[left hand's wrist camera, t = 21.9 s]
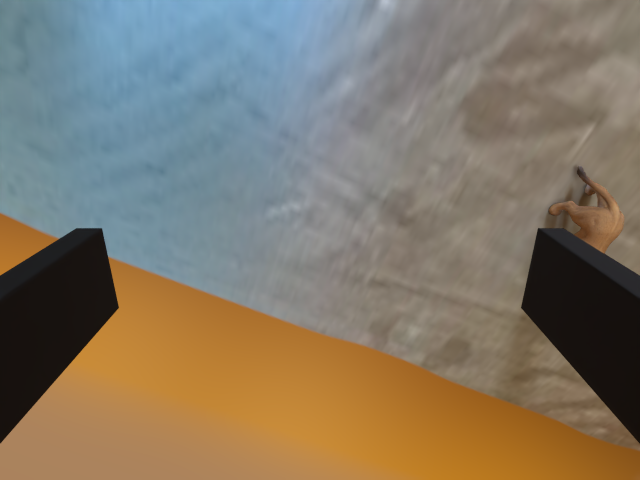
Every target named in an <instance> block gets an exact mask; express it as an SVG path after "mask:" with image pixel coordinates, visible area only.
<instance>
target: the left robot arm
mask: <svg viewBox="0 0 640 480" xmlns="http://www.w3.org/2000/svg"><path fill="white" fill-rule="evenodd" d="M118 308H119V306H118V302H117V297H116V292H115V288H114V283H113V278H112V274H111V269H110V264H109V259H108V255H107V250H106V245H105V241H104V236H103V231H102V228H76V229H75V230H73V231H72V232H70V233H68V234H67V235H65V236H63V237H62V238H60V239H59V240H57V241H55V242H54V243H52V244H51V245H49V246H47V247H46V248H44V249H42V250H41V251H39V252H38V253H36V254H34V255H33V256H31V257H30V258H28V259H26V260H25V261H23V262H22V263H20V264H18V265H17V266H15V267H14V268H12V269H10V270H9V271H7V272H5V273H4V274H2V275H1V276H0V443H1V442H2V441H3V440H4V439H5V438H6V436H7V435H8V434H9V433H10V432H11V431H12V429H13V428H14V427H15V426H16V425H17V424H18V423H19V421H20V420H21V419H22V418H23V417H24V416H25V415H26V413H27V412H28V411H29V410H30V409H31V408H32V406H33V405H34V404H35V403H36V402H37V401H38V400H39V399H40V397H41V396H42V395H43V394H44V393H45V392H46V391H47V389H48V388H49V387H50V386H51V385H52V384H53V383H54V381H55V380H56V379H57V378H58V377H59V376H60V375H61V373H62V372H63V371H64V370H65V369H66V368H67V367H68V365H69V364H70V363H71V362H72V361H73V360H74V359H75V357H76V356H77V355H78V354H79V353H80V352H81V351H82V349H83V348H84V347H85V346H86V345H87V344H88V342H89V341H90V340H91V339H92V338H93V337H94V336H95V334H96V333H97V332H98V331H99V330H100V329H101V328H102V326H103V325H104V324H105V323H106V322H107V321H108V319H109V318H110V317H111V316H112V315H113V314H114V313H115V312H116V310H117V309H118ZM521 308H522V309H523V310H524V312H525V313H526V314H527V315H528V316H529V317H530V318H531V320H532V321H533V322H534V323H535V324H536V325H537V326H538V328H539V329H540V330H541V331H542V332H543V333H544V334H545V336H546V337H547V338H548V339H549V340H550V341H551V342H552V344H553V345H554V346H555V347H556V348H557V349H558V351H559V352H560V353H561V354H562V355H563V356H564V357H565V359H566V360H567V361H568V362H569V363H570V364H571V365H572V367H573V368H574V369H575V370H576V371H577V372H578V373H579V375H580V376H581V377H582V378H583V379H584V380H585V381H586V383H587V384H588V385H589V386H590V387H591V388H592V389H593V391H594V392H595V393H596V394H597V395H598V396H599V397H600V399H601V400H602V401H603V402H604V403H605V404H606V405H607V407H608V408H609V409H610V410H611V411H612V412H613V413H614V415H615V416H616V417H617V418H618V419H619V420H620V421H621V423H622V424H623V425H624V426H625V427H626V428H627V429H628V431H629V432H630V433H631V434H632V435H633V436H634V438H635V439H636V440H637V441H638V442H639V443H640V276H639V275H638V274H636V273H635V272H633V271H631V270H630V269H628V268H627V267H625V266H623V265H622V264H620V263H618V262H617V261H615V260H614V259H612V258H610V257H609V256H607V255H606V254H604V253H602V252H601V251H599V250H598V249H596V248H594V247H593V246H591V245H589V244H588V243H586V242H585V241H583V240H581V239H580V238H578V237H577V236H575V235H573V234H572V233H570V232H568V231H567V230H565V229H564V228H538V231H537V236H536V241H535V245H534V250H533V255H532V259H531V264H530V269H529V274H528V278H527V283H526V288H525V292H524V297H523V302H522V306H521Z"/></svg>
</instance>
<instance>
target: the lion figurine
mask: <svg viewBox="0 0 640 480" xmlns="http://www.w3.org/2000/svg"><path fill="white" fill-rule="evenodd" d="M577 174H578V175H579V177H580V178H581V179H582V180H583V181H584V182H585V183H586V184H588V185H587V186H586V188H585V193H587V194H588V195H592V194H595V193H596V194H597V198H598V207H591V206H577V205H576V204H575V203H574V202H573V201H568V202H564V203H557V204H554V205H553V206H551V207H550V209H549V213H550V214H551V215H556V216H557V215H559V214H560V213H561V211H562V210H566V211H567V212H568V213H569V215H570V216H571V218H572V220H573V221H574V222H575V223H576V224H578V225H579V226H580V227H581V229H580V231H579V232H577V233H576V234H575V236H577V237H578V238H580V239H581V240H583V241H585V242H586V243H588V244H589V245H591V246H593V247H594V248H596V249H598V250H599V251H601V252H602V253H604V254H605V251H606V249H607V248H608V246H609V245H610V243H611V242H612V241H613V240H615V239H616V238H617V237H618V235H619V234H620V233H621V231H622V229H623V226H624V215H623V214H622V212H620V210H619V206H618V204H617V202H616V201H615V199H614V198H613V197H612V196H611V195H610V194H609V193H608V192H607V190H606V189H605V188H604V187H602V186H601V185H599V184H597V183H594V182H593V181H592V180H591V179H590V178H589V177H587V175H586V173H585V172H584V170H583V168H582V167H581V166H579V167H578V170H577Z"/></svg>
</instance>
